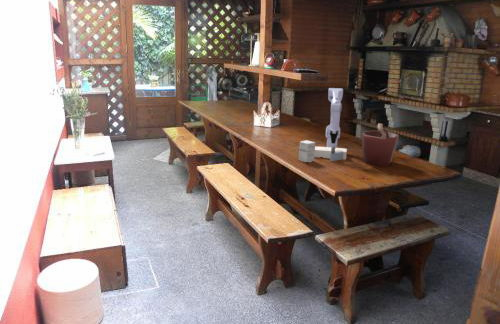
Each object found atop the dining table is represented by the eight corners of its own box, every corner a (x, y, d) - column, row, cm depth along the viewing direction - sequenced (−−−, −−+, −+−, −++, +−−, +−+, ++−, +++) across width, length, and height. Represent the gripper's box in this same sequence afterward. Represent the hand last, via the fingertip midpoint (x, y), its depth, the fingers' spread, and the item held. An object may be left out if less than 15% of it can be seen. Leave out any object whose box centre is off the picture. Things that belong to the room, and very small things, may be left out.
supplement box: (298, 160, 264) (299, 141, 260) (306, 158, 269) (307, 140, 265) (306, 163, 258) (307, 143, 255) (314, 161, 263) (315, 142, 260)
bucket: (389, 169, 249) (394, 129, 242) (353, 164, 259) (357, 125, 252) (397, 160, 269) (401, 123, 262) (363, 155, 279) (367, 119, 273)
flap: (329, 160, 264) (330, 147, 261) (341, 158, 269) (342, 145, 267) (331, 161, 262) (332, 147, 259) (343, 159, 267) (344, 146, 265)
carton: (310, 153, 283) (310, 146, 282) (345, 155, 278) (346, 148, 277) (309, 156, 274) (309, 149, 272) (345, 159, 269) (346, 152, 267)
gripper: (329, 119, 274) (327, 139, 278) (328, 123, 261) (326, 144, 265) (339, 120, 273) (338, 140, 277) (339, 124, 259) (337, 144, 263)
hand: (333, 142), depth 271 cm, fingers open, 7 cm apart
